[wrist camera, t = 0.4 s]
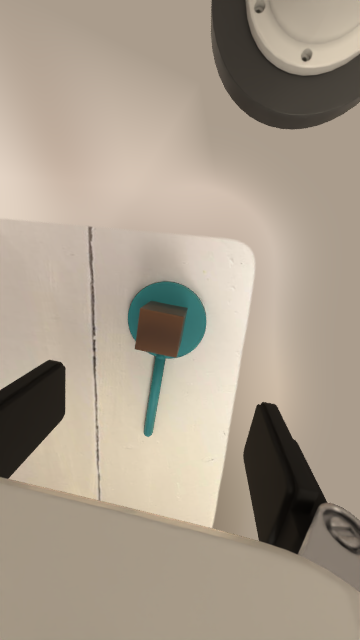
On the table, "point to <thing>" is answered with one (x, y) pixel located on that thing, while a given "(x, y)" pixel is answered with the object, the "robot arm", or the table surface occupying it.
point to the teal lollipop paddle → (190, 339)
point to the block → (160, 328)
